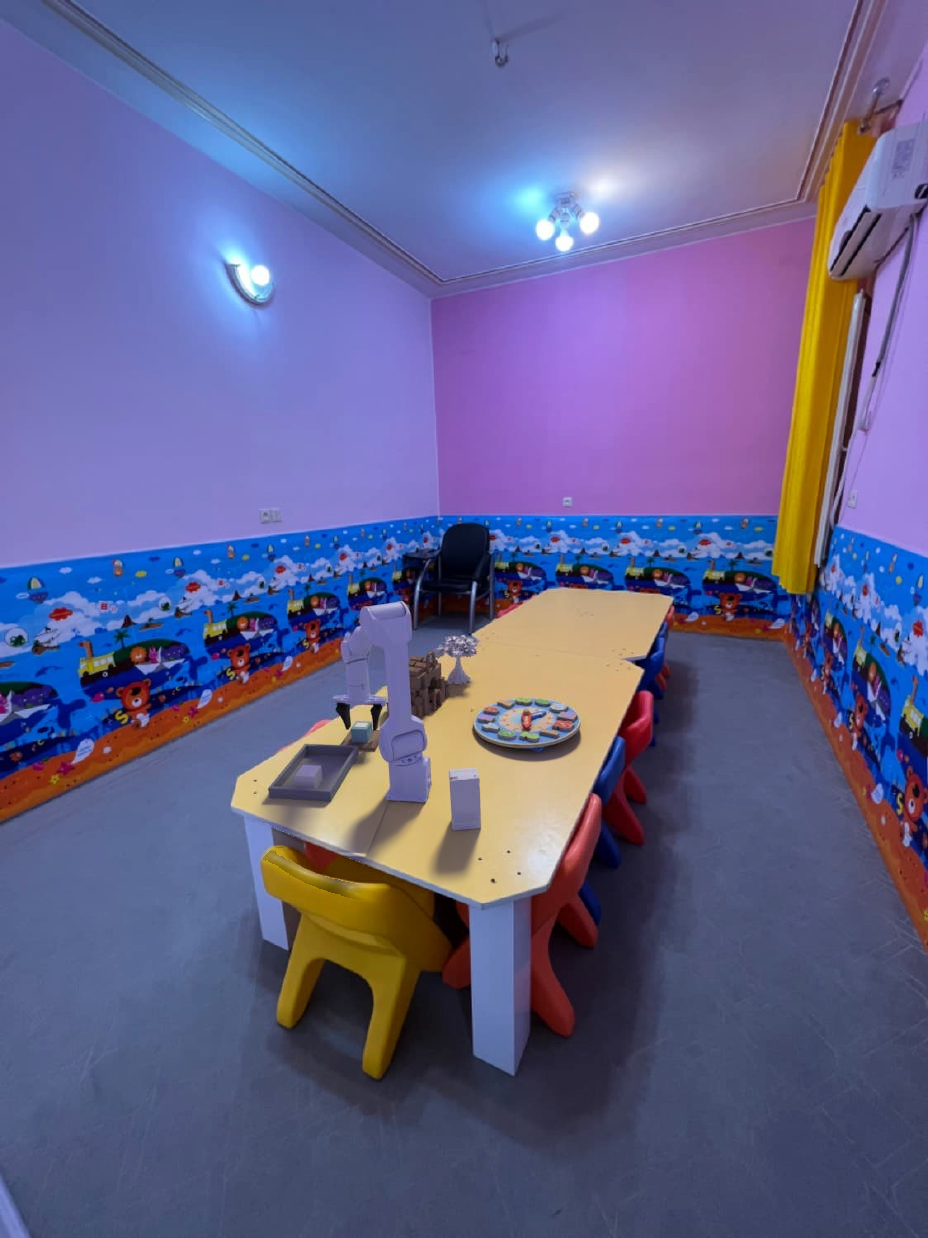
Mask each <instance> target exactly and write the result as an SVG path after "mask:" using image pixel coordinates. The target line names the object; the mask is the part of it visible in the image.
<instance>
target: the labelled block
mask: <svg viewBox="0 0 928 1238" xmlns="http://www.w3.org/2000/svg"><path fill="white" fill-rule="evenodd" d="M350 730H351V738H352V742H362V743H368V742H369V740H370V738H371V737H372V735H373V732H372V730H373V721H370V720H369V721H366V720H365V721H360V720H355V722H354V723H353V725H351V727H350Z"/></svg>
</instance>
